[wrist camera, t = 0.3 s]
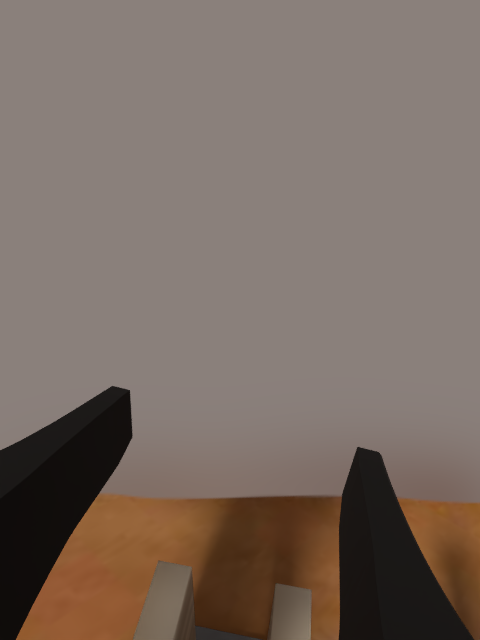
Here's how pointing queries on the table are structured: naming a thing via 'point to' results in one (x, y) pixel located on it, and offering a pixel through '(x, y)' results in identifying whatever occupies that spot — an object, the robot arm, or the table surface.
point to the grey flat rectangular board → (218, 635)
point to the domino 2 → (290, 614)
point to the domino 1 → (168, 605)
